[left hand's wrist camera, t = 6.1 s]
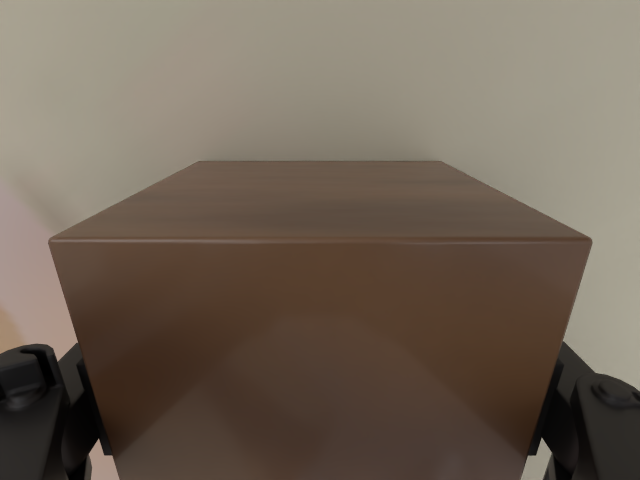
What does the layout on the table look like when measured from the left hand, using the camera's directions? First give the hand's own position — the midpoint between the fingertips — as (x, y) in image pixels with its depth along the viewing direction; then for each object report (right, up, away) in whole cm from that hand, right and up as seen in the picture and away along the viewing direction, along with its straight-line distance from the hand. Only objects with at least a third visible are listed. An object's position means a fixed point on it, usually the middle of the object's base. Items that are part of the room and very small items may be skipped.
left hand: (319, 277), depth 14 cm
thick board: (0, -21, +9) cm, 23 cm away
